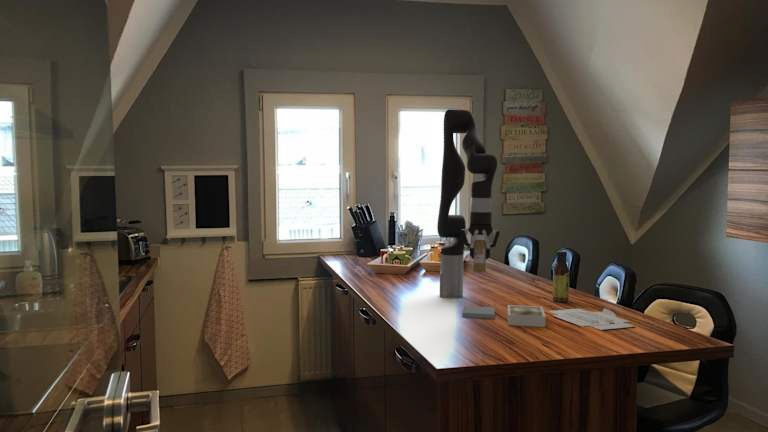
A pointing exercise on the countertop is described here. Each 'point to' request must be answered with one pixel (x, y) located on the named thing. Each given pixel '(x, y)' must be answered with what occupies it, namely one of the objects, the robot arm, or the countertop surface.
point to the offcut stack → (525, 311)
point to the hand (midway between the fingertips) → (479, 258)
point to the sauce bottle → (561, 278)
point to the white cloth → (592, 318)
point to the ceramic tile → (478, 312)
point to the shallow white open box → (526, 317)
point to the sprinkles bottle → (480, 254)
